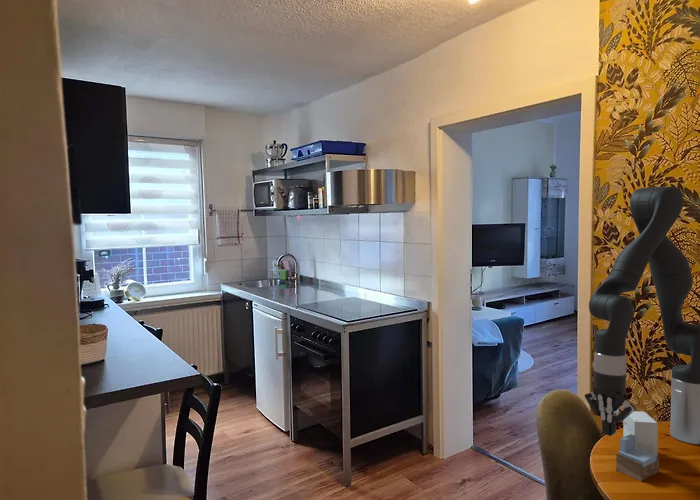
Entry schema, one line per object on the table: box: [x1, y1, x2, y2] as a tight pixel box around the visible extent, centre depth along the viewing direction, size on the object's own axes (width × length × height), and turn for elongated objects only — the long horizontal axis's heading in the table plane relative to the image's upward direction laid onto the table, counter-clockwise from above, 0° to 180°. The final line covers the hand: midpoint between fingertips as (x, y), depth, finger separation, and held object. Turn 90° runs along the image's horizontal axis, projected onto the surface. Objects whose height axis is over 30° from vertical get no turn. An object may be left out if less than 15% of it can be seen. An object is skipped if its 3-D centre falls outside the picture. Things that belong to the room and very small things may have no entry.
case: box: [615, 448, 660, 482], centre depth 117 cm, size 8×6×4 cm
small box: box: [622, 410, 659, 455], centre depth 125 cm, size 8×6×10 cm
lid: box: [618, 434, 658, 467], centre depth 117 cm, size 6×6×5 cm
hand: (608, 434), depth 123 cm, fingers closed
